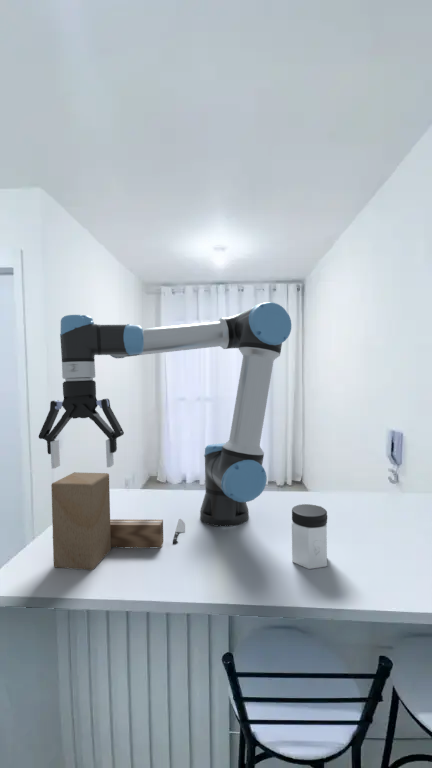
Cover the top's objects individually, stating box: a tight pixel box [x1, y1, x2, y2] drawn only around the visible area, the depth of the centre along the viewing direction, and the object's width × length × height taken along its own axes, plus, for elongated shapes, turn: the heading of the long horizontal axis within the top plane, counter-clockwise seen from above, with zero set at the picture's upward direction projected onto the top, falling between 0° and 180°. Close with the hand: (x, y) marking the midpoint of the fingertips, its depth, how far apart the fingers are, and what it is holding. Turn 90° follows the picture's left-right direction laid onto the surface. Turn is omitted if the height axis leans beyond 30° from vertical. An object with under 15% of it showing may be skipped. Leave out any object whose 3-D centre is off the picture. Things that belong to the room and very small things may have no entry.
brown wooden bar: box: [110, 518, 164, 549], centre depth 96 cm, size 24×4×6 cm, turn 87°
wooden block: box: [50, 472, 112, 571], centre depth 88 cm, size 10×10×20 cm
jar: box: [291, 503, 328, 570], centre depth 86 cm, size 9×8×12 cm
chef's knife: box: [172, 518, 186, 545], centre depth 105 cm, size 19×1×3 cm
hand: (82, 466), depth 88 cm, fingers open, 13 cm apart
